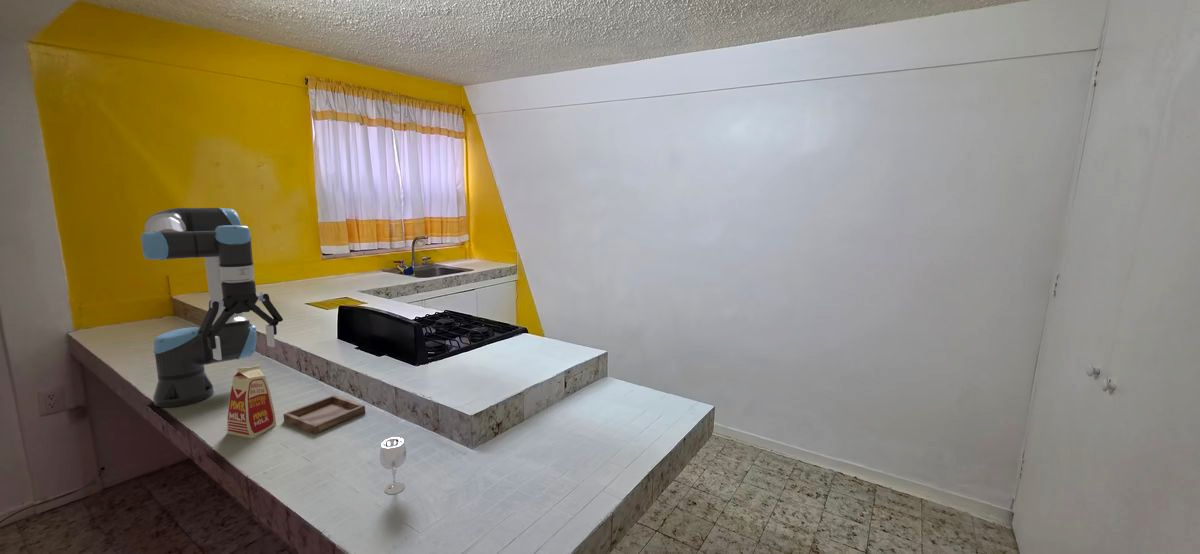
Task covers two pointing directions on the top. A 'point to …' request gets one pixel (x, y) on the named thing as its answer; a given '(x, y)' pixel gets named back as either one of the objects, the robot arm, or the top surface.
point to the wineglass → (393, 461)
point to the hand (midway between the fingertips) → (245, 352)
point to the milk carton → (250, 404)
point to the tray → (324, 414)
